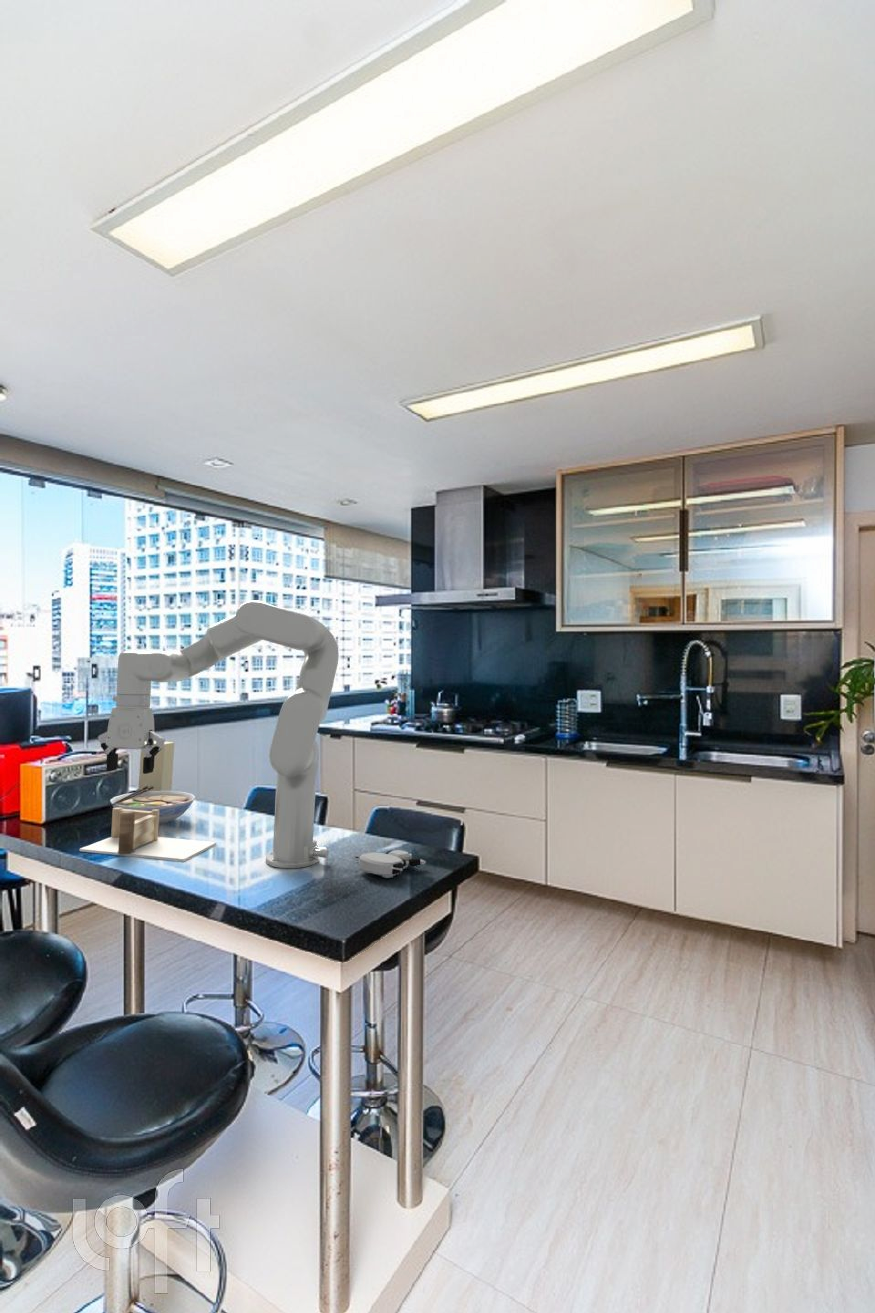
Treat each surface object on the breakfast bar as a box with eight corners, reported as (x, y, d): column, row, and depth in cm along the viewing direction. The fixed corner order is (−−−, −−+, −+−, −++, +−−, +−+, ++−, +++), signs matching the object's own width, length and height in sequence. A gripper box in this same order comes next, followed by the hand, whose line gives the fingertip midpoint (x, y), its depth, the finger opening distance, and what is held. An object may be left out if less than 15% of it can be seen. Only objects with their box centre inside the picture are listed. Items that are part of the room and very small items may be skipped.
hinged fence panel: (127, 854, 147) (129, 814, 147) (115, 853, 147) (117, 813, 147) (157, 840, 159) (159, 803, 159) (145, 839, 160) (147, 802, 160)
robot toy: (389, 863, 155) (348, 873, 143) (390, 845, 155) (350, 853, 143) (428, 874, 148) (388, 885, 135) (429, 855, 148) (390, 864, 136)
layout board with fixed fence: (216, 844, 161) (218, 812, 161) (181, 863, 145) (183, 827, 145) (119, 835, 165) (121, 804, 166) (75, 852, 150) (77, 817, 150)
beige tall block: (172, 805, 203) (175, 741, 204) (160, 809, 196) (163, 744, 196) (149, 803, 204) (153, 740, 204) (136, 808, 197) (140, 742, 197)
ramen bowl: (173, 836, 167) (175, 806, 167) (89, 833, 166) (91, 803, 167) (207, 815, 192) (208, 788, 192) (133, 812, 191) (135, 785, 192)
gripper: (90, 700, 147) (87, 772, 147) (156, 704, 145) (152, 776, 144) (111, 699, 155) (108, 767, 154) (174, 702, 152) (171, 771, 152)
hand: (129, 771), depth 149 cm, fingers open, 9 cm apart
